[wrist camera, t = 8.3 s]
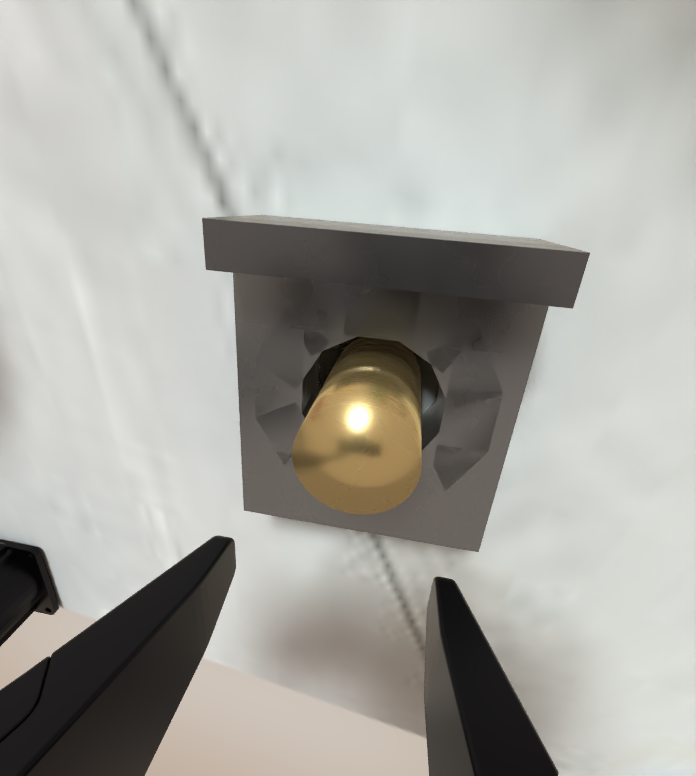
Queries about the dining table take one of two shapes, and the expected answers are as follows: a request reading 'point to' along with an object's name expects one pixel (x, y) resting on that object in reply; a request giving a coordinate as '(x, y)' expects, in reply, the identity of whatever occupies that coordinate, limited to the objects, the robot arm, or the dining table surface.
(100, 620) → the robot arm
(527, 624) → the dining table surface
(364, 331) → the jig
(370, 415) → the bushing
